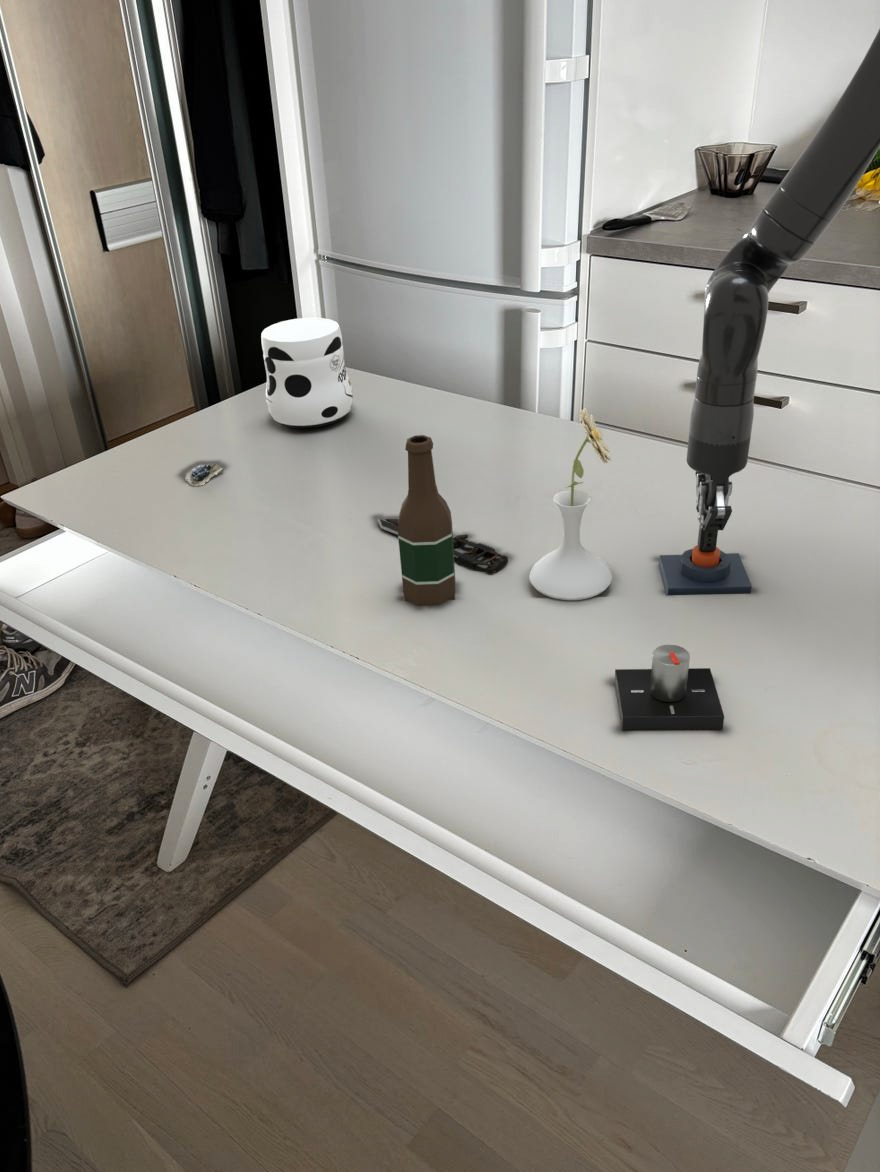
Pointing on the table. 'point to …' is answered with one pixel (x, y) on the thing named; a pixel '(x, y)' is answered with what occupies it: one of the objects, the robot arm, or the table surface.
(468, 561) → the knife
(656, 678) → the hob knob
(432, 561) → the beer bottle
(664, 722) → the hob panel
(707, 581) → the button block
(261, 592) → the table surface
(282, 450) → the table surface
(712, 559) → the button
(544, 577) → the flower in vase
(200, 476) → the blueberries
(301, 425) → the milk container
